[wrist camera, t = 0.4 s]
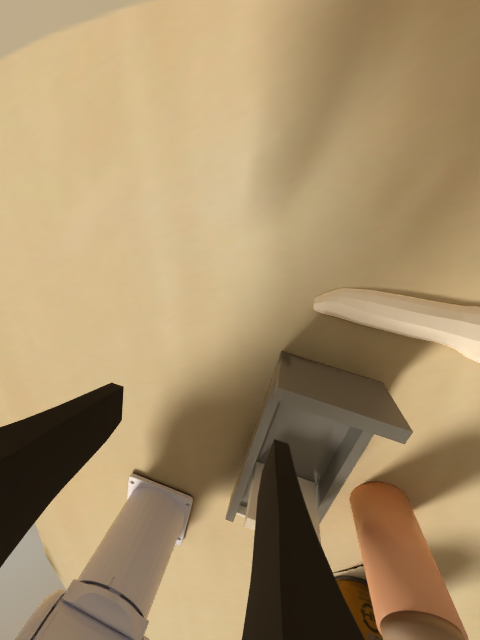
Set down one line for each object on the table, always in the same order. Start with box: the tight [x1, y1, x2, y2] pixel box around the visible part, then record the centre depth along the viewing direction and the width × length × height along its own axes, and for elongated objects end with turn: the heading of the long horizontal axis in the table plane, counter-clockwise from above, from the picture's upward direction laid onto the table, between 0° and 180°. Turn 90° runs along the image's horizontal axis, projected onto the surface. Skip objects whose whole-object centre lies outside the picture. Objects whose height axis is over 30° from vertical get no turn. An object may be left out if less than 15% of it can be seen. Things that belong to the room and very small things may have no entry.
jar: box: [350, 482, 468, 640], centre depth 18 cm, size 5×5×9 cm
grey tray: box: [226, 352, 413, 524], centre depth 20 cm, size 19×8×5 cm, turn 166°
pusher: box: [244, 462, 321, 544], centre depth 20 cm, size 1×6×6 cm, turn 76°
